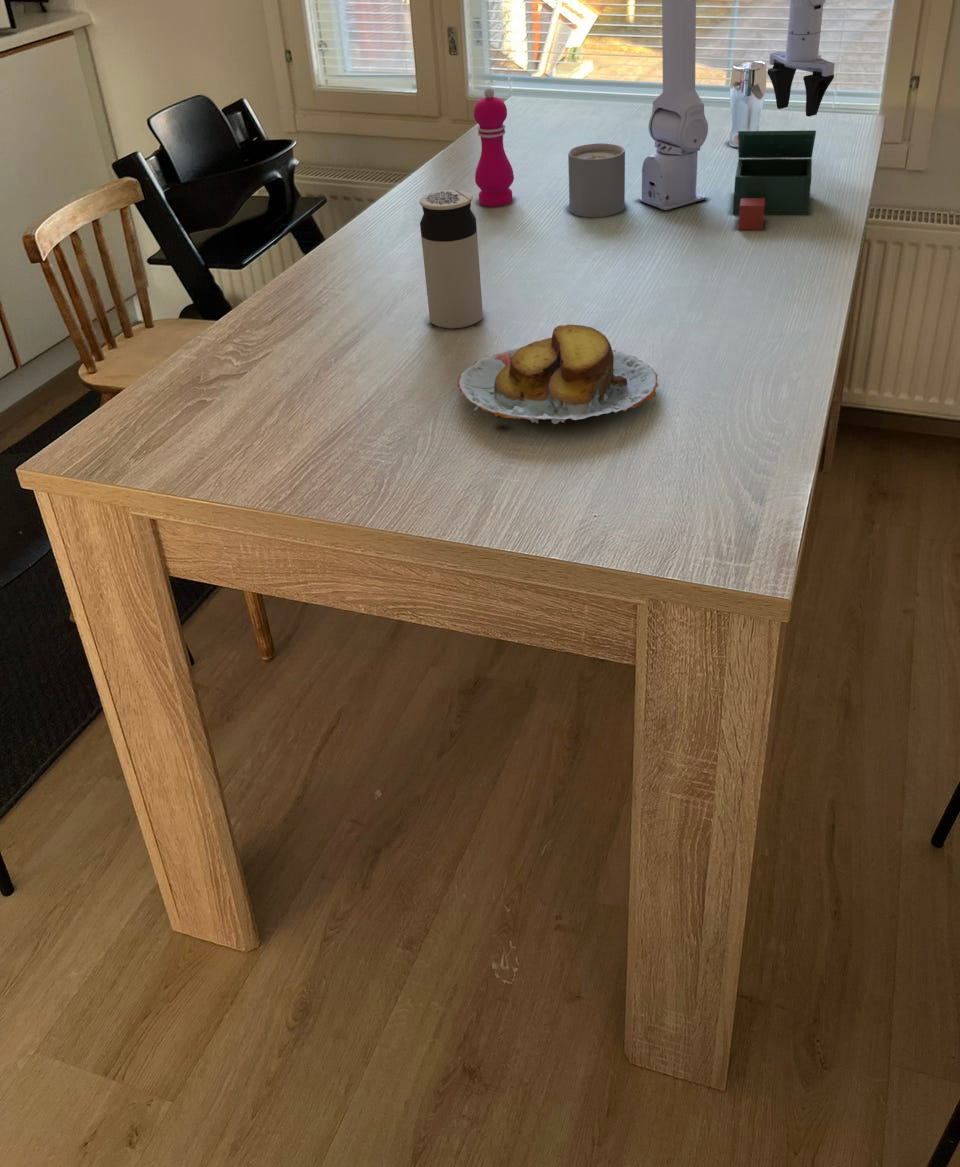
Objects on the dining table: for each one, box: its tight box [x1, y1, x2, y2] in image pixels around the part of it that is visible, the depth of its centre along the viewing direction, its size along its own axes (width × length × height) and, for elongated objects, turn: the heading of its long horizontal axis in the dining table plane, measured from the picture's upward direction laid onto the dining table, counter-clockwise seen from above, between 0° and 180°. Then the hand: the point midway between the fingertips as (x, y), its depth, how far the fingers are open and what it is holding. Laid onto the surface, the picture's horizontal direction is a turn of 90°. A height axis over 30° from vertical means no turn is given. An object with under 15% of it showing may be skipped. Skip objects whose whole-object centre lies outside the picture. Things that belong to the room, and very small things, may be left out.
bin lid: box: [737, 130, 817, 159], centre depth 193 cm, size 11×13×1 cm
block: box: [737, 198, 765, 231], centre depth 190 cm, size 4×4×4 cm
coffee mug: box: [567, 142, 626, 218], centre depth 202 cm, size 13×10×10 cm
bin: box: [732, 157, 813, 216], centre depth 197 cm, size 11×13×6 cm
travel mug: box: [419, 189, 484, 330], centre depth 162 cm, size 8×8×18 cm
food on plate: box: [457, 324, 659, 428], centre depth 143 cm, size 26×25×7 cm
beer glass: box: [728, 60, 768, 149], centre depth 225 cm, size 7×7×15 cm
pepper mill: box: [473, 87, 515, 208], centre depth 205 cm, size 7×7×20 cm
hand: (796, 111), depth 209 cm, fingers open, 7 cm apart
